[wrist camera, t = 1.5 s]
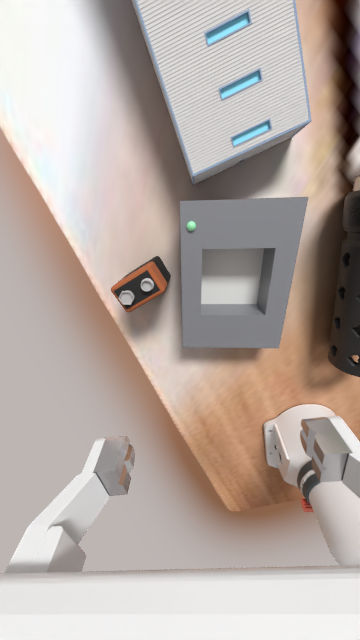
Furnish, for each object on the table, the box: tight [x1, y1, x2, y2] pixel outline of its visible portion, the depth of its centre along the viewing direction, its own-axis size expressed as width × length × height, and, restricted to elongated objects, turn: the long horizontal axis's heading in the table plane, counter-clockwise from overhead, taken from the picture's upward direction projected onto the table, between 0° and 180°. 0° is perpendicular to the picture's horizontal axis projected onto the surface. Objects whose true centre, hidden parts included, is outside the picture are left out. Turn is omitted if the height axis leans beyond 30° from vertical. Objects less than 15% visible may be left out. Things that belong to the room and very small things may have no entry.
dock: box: [180, 197, 308, 348], centre depth 34 cm, size 22×16×6 cm
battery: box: [111, 256, 171, 312], centre depth 34 cm, size 4×7×10 cm, turn 121°
